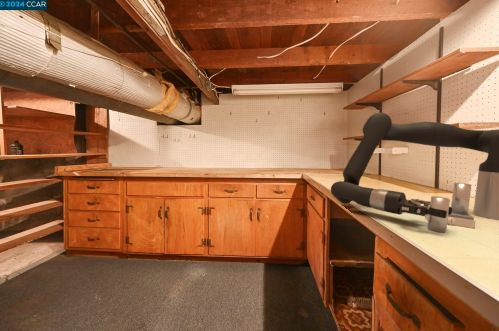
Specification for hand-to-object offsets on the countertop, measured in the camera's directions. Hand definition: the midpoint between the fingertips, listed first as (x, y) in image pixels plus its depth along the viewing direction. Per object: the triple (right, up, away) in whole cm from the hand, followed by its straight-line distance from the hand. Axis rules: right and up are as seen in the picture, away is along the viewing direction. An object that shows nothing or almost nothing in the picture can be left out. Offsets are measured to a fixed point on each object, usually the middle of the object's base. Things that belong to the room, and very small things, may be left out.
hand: (449, 212), depth 69 cm
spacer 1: (-2, -6, +2) cm, 6 cm away
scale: (+11, -5, +14) cm, 18 cm away
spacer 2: (+13, -2, +11) cm, 17 cm away
